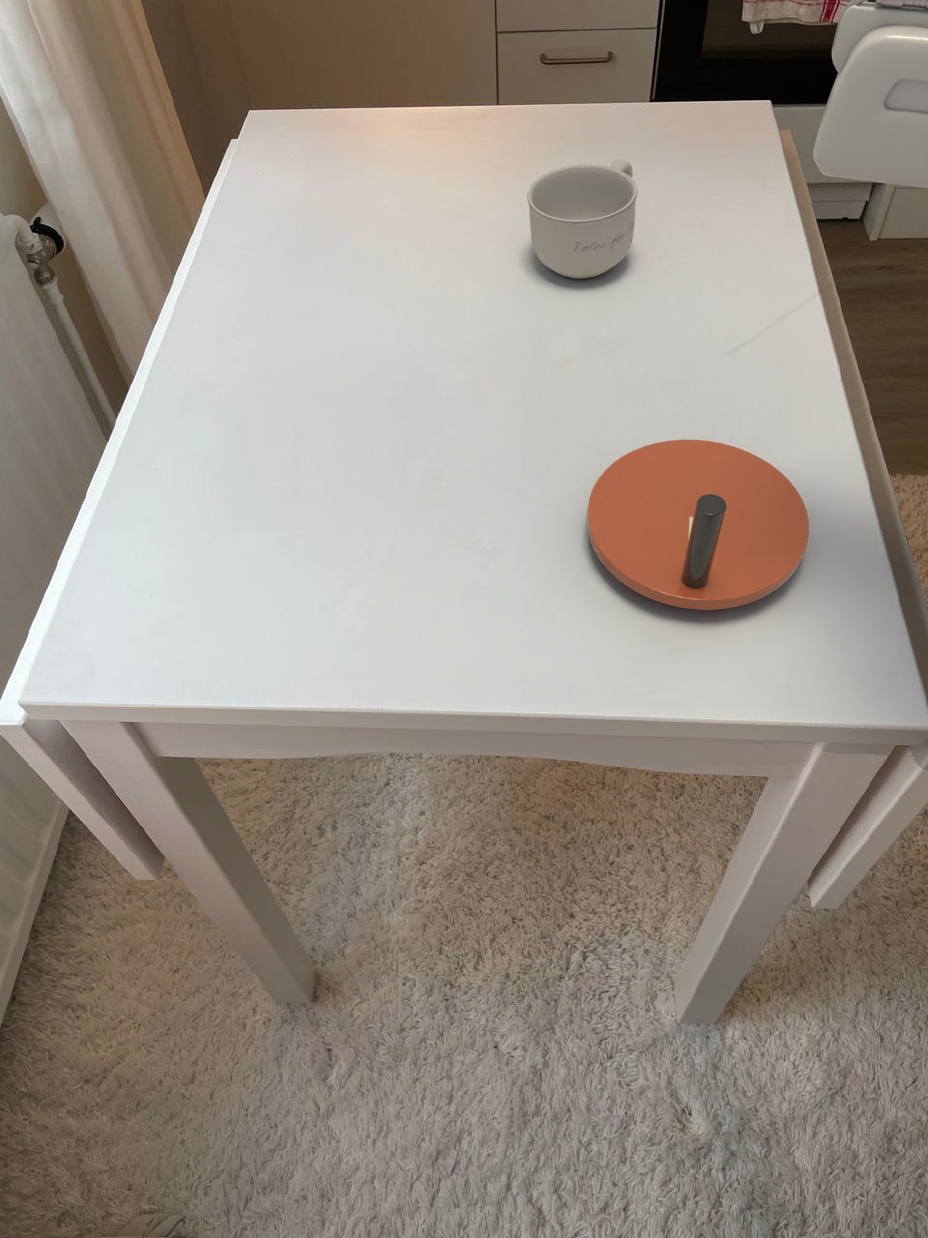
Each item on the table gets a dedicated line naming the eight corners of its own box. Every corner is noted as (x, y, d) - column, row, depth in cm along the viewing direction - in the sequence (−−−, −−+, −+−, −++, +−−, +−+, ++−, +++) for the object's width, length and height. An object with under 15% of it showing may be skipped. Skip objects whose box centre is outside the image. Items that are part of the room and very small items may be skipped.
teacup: (579, 305, 96) (583, 231, 89) (505, 261, 101) (504, 189, 94) (672, 248, 101) (682, 174, 94) (597, 209, 106) (602, 137, 99)
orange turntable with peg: (850, 565, 72) (888, 479, 65) (652, 640, 69) (667, 558, 62) (730, 426, 82) (751, 337, 75) (551, 487, 79) (554, 400, 71)
